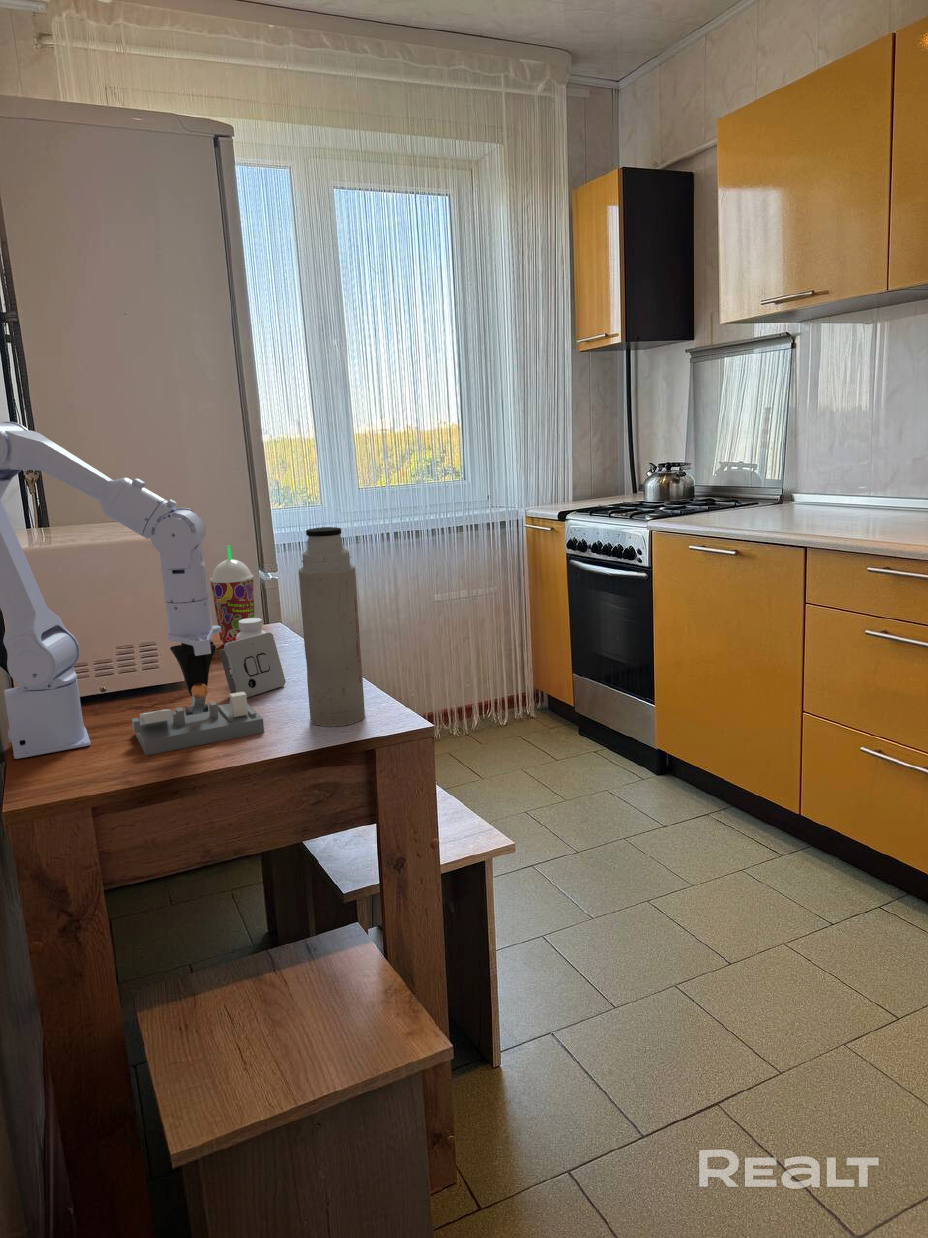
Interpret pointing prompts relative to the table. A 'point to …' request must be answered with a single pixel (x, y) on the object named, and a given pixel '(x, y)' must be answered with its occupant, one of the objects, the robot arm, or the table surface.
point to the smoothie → (232, 596)
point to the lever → (198, 700)
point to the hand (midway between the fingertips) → (198, 694)
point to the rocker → (156, 716)
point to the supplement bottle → (249, 628)
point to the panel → (196, 728)
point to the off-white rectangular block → (238, 704)
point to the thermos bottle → (331, 630)
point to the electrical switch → (252, 665)
